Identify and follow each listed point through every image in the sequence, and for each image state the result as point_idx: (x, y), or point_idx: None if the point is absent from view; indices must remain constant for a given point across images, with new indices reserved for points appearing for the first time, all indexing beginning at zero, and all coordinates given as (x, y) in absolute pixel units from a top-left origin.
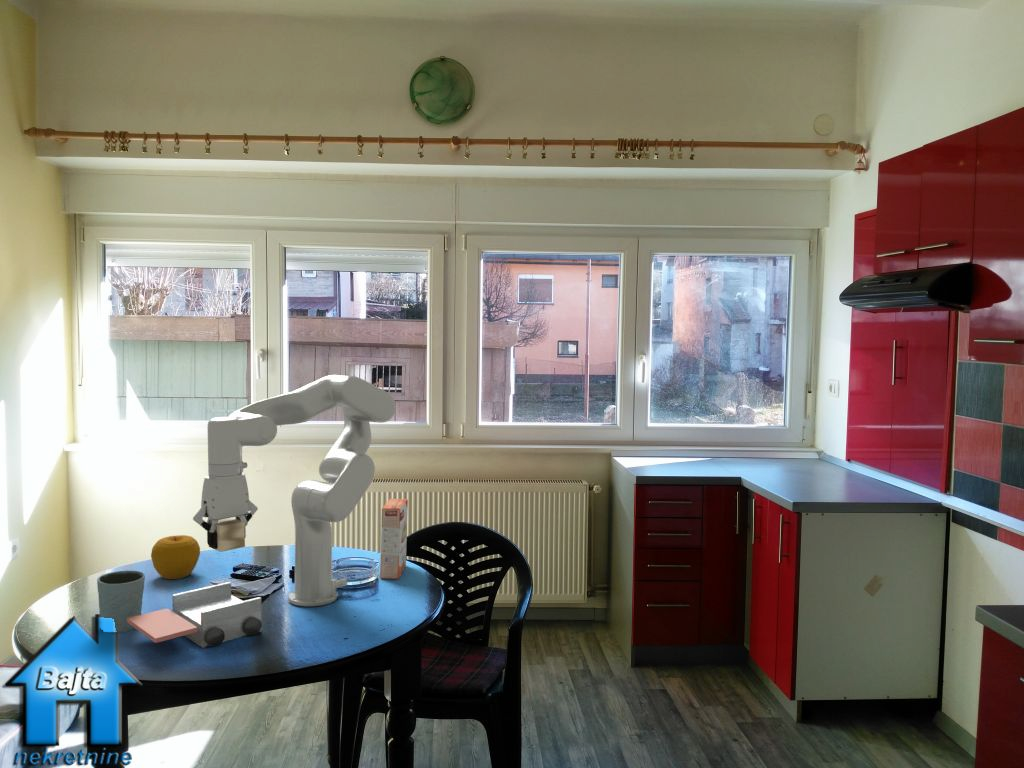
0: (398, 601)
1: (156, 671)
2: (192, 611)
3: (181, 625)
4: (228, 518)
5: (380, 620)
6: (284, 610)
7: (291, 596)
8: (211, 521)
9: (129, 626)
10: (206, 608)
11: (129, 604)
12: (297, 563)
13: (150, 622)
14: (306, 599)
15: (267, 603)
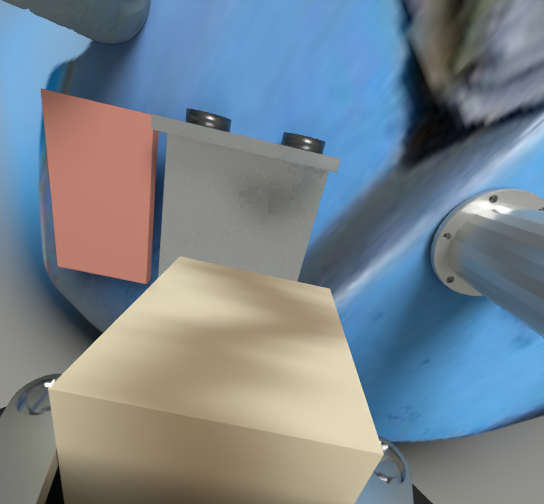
0: (526, 374)
1: (78, 281)
2: (187, 195)
3: (126, 250)
4: (313, 455)
5: (425, 398)
6: (396, 244)
7: (463, 215)
8: (22, 495)
9: (100, 40)
10: (221, 206)
11: (49, 15)
12: (531, 277)
13: (80, 175)
14: (451, 264)
15: (419, 178)
